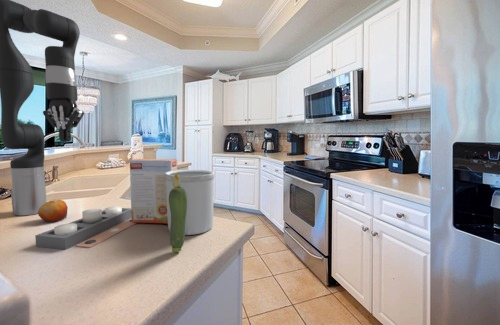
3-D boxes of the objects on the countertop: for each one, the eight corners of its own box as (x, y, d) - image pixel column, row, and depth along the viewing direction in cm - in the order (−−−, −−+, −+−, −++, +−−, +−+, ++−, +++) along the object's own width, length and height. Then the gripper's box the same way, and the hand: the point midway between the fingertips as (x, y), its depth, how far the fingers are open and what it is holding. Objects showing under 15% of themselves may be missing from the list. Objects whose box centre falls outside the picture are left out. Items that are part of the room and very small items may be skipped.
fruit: (79, 212, 89) (65, 196, 84) (60, 230, 83) (44, 213, 78) (63, 210, 91) (49, 194, 87) (43, 227, 85) (28, 211, 81)
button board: (36, 246, 64) (35, 235, 64) (111, 215, 90) (111, 207, 90) (65, 249, 62) (64, 238, 62) (134, 216, 89) (133, 208, 88)
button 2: (102, 218, 83) (101, 209, 83) (112, 214, 88) (112, 206, 88) (115, 219, 82) (114, 210, 82) (125, 215, 87) (124, 206, 87)
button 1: (49, 240, 65) (49, 228, 65) (67, 233, 70) (66, 222, 70) (66, 241, 64) (65, 230, 64) (82, 234, 69) (81, 223, 69)
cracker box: (179, 218, 86) (178, 158, 84) (171, 224, 80) (170, 160, 78) (140, 217, 87) (139, 158, 85) (130, 222, 81) (128, 159, 79)
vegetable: (172, 247, 64) (170, 170, 62) (189, 247, 64) (188, 170, 62) (168, 255, 59) (166, 173, 57) (186, 255, 60) (184, 172, 58)
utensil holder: (154, 231, 74) (154, 173, 72) (184, 216, 87) (184, 167, 86) (197, 239, 68) (198, 177, 67) (221, 223, 82) (222, 171, 81)
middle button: (78, 222, 74) (78, 212, 74) (92, 217, 79) (91, 208, 79) (93, 224, 73) (92, 213, 73) (105, 218, 78) (105, 209, 78)
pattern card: (75, 246, 64) (75, 245, 64) (132, 218, 87) (132, 217, 87) (90, 247, 63) (90, 246, 63) (143, 219, 86) (143, 218, 86)
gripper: (30, 82, 72) (35, 141, 74) (69, 80, 70) (73, 141, 71) (55, 87, 80) (58, 141, 81) (90, 86, 77) (93, 141, 79)
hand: (65, 141), depth 76 cm, fingers closed
